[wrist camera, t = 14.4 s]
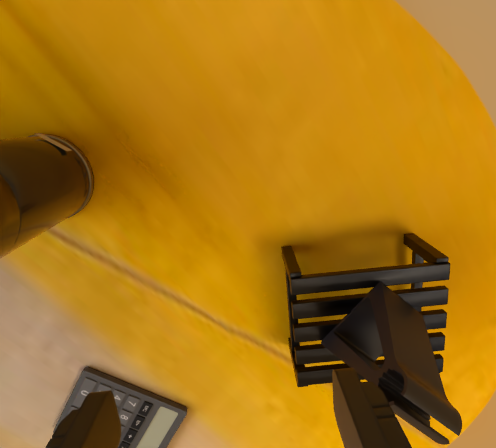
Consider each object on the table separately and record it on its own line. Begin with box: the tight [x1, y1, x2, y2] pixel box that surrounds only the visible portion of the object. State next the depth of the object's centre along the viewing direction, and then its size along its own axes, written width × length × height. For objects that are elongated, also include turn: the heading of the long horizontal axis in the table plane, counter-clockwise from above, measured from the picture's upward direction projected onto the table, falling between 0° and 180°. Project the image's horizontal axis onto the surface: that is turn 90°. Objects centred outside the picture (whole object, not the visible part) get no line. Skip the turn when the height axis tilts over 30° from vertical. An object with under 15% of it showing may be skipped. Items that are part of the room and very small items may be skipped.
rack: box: [281, 233, 450, 387], centre depth 42 cm, size 16×14×8 cm
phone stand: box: [321, 282, 462, 444], centre depth 32 cm, size 9×6×12 cm, turn 141°
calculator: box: [53, 367, 187, 448], centre depth 50 cm, size 12×1×15 cm
